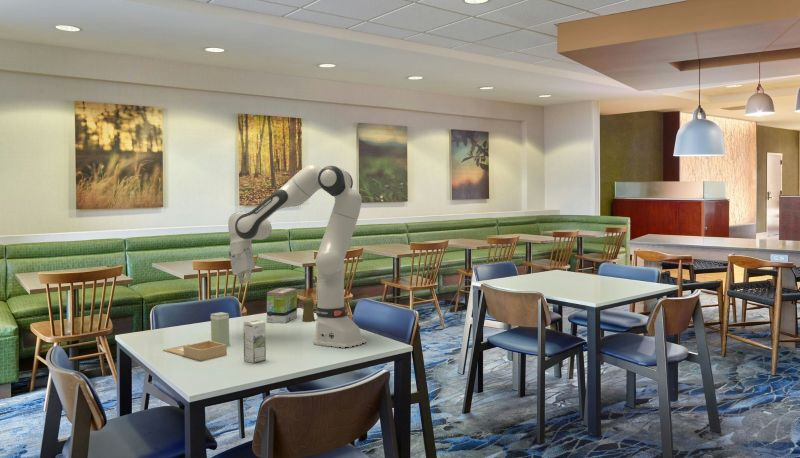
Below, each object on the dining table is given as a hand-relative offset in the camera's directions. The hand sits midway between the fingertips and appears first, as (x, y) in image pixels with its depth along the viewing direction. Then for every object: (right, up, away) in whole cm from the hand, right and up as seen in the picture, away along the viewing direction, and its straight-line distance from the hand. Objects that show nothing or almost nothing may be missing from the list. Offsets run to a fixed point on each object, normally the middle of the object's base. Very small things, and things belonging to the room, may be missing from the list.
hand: (245, 282), depth 260 cm
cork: (+21, -22, +37) cm, 48 cm away
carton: (-7, -24, -11) cm, 28 cm away
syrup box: (+12, -26, -34) cm, 45 cm away
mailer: (-14, -25, -22) cm, 36 cm away
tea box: (+8, -22, +40) cm, 46 cm away
